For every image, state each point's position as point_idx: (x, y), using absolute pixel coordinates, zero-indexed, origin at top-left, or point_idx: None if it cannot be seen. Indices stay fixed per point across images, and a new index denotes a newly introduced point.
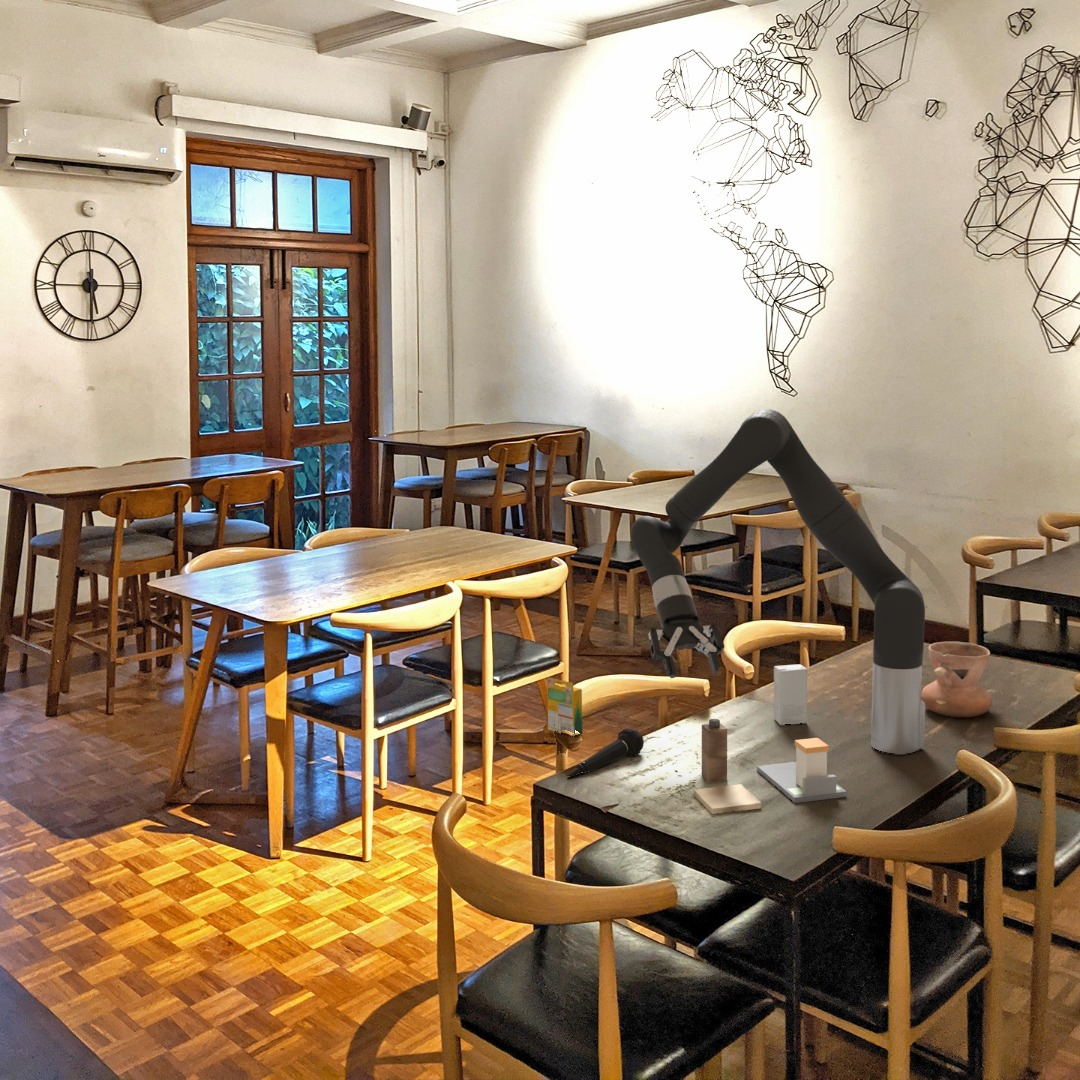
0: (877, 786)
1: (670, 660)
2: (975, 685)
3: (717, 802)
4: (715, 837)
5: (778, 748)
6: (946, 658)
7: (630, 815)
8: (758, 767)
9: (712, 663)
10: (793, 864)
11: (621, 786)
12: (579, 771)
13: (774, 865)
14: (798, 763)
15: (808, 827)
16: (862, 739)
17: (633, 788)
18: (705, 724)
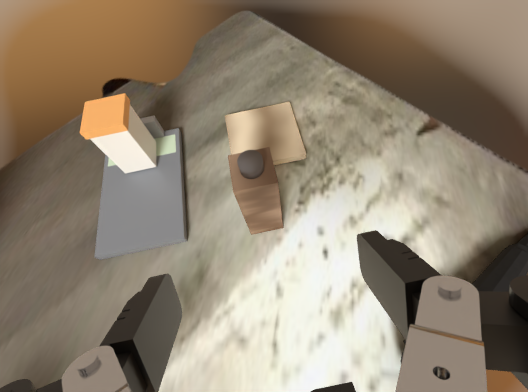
0: (54, 176)
1: (406, 264)
2: None
3: (279, 116)
4: (295, 62)
5: None
6: None
7: (395, 105)
8: (184, 233)
9: (159, 306)
10: (235, 25)
11: (421, 192)
12: (519, 241)
13: (252, 23)
14: (140, 139)
15: (192, 81)
16: None
17: (399, 184)
18: (269, 182)
